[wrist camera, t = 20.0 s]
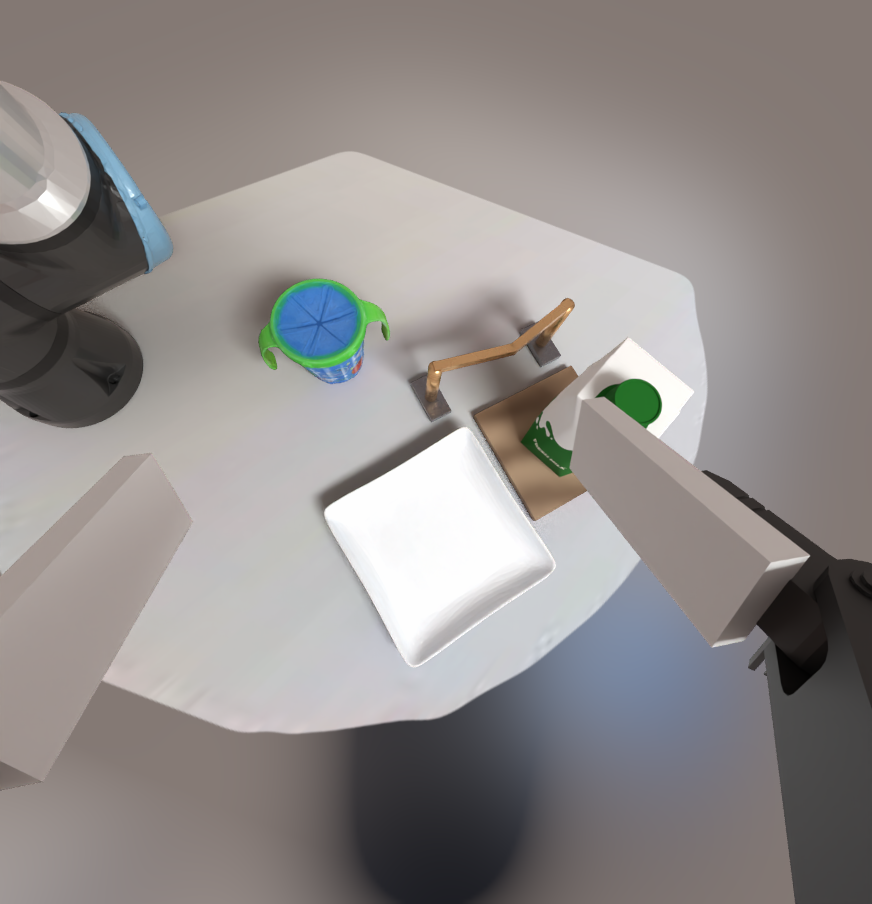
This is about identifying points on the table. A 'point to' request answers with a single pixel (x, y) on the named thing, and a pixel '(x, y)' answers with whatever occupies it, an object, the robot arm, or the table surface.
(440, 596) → the salad plate
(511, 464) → the walnut board
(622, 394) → the soya milk
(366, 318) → the snack cup
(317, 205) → the table surface
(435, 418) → the copper wire
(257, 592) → the table surface
